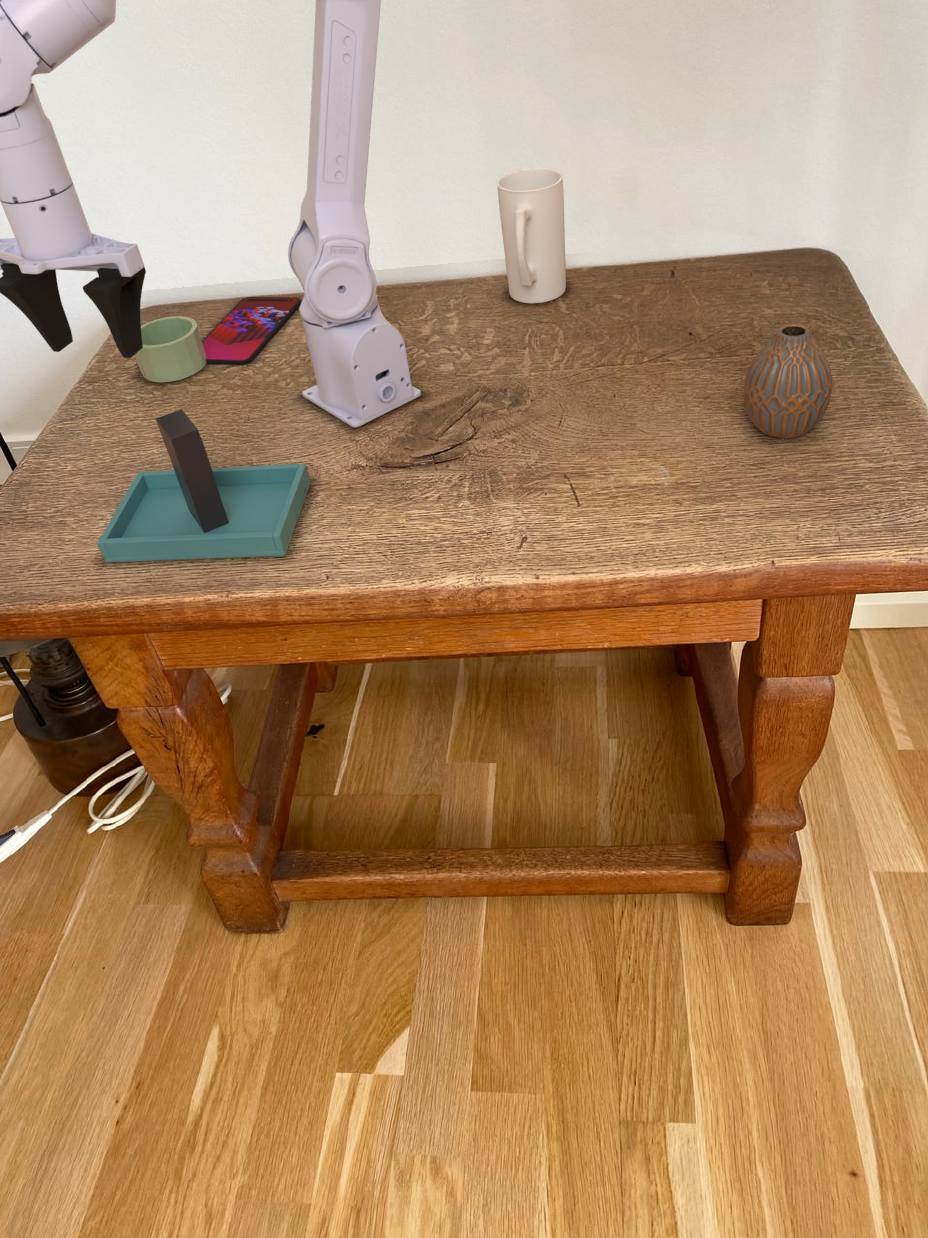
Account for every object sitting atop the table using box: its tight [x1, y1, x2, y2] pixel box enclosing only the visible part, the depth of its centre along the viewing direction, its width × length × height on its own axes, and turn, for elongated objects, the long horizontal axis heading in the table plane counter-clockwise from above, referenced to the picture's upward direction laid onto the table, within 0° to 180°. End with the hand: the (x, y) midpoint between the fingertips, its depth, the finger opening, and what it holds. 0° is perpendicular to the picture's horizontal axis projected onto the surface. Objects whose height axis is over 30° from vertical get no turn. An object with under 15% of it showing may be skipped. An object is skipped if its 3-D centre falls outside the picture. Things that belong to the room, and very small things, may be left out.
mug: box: [496, 167, 567, 304], centre depth 106 cm, size 10×7×12 cm, turn 165°
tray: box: [96, 462, 312, 563], centre depth 84 cm, size 15×10×2 cm
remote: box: [155, 409, 229, 533], centre depth 81 cm, size 2×4×9 cm, turn 30°
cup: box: [134, 315, 207, 383], centre depth 106 cm, size 7×7×4 cm
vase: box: [743, 323, 833, 439], centre depth 83 cm, size 7×7×9 cm
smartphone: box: [202, 296, 302, 366], centre depth 112 cm, size 8×1×15 cm
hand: (97, 349), depth 88 cm, fingers open, 7 cm apart
